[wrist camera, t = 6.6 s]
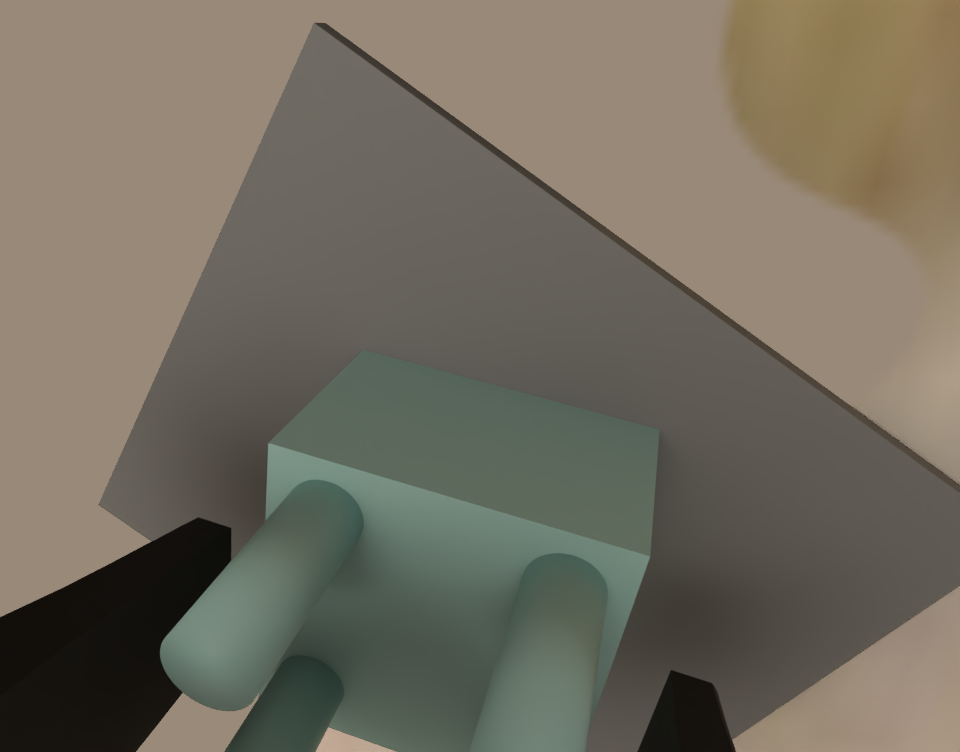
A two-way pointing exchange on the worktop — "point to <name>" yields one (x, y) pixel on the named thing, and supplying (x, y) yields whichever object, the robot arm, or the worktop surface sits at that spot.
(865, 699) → the worktop surface
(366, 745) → the worktop surface
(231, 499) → the mat
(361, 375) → the stool
